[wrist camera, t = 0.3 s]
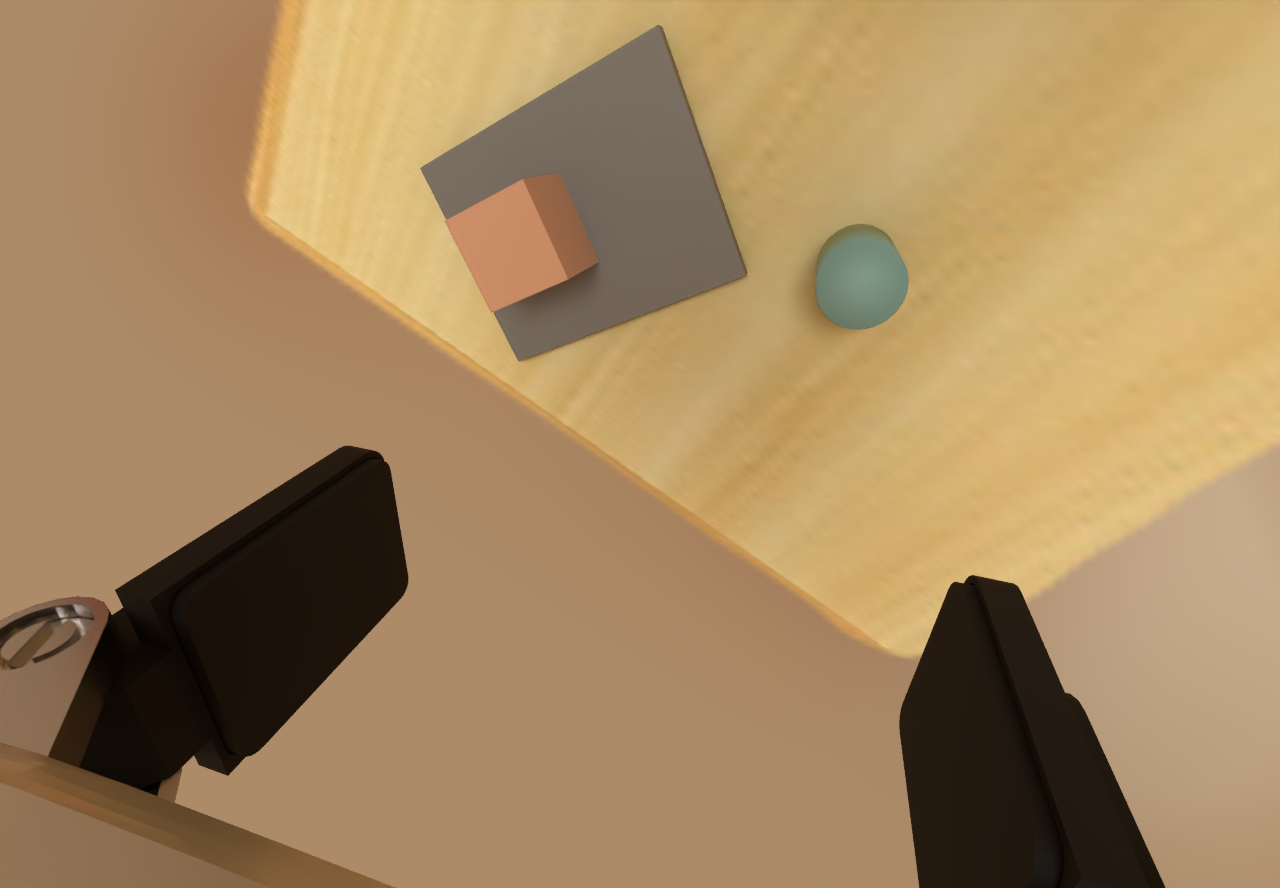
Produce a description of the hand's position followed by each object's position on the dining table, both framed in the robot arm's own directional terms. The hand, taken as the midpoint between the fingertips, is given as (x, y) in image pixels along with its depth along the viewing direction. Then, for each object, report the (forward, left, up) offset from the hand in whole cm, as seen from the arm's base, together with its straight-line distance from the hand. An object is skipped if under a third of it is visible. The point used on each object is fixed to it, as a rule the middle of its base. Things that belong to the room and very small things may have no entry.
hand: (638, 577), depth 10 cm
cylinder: (+3, +4, -36) cm, 36 cm away
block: (-7, -16, -35) cm, 39 cm away
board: (-7, -13, -36) cm, 39 cm away
